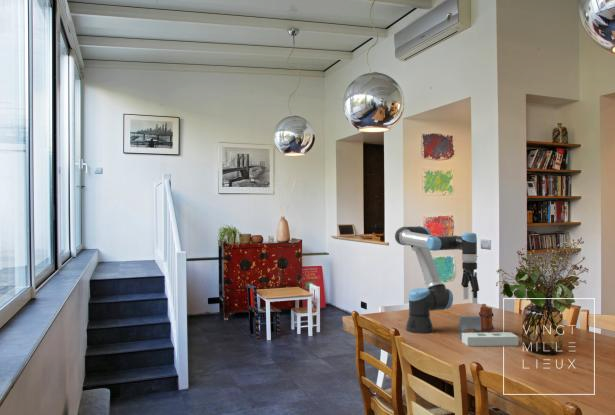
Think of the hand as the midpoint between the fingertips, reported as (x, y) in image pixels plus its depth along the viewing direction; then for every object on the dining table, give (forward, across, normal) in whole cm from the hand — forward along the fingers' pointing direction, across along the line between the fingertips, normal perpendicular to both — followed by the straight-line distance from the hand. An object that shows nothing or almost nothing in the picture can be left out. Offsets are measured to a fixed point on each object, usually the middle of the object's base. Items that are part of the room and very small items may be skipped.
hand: (470, 301), depth 266 cm
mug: (+20, +15, -14) cm, 29 cm away
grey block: (+20, 0, 0) cm, 20 cm away
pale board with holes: (+20, -9, -7) cm, 23 cm away
